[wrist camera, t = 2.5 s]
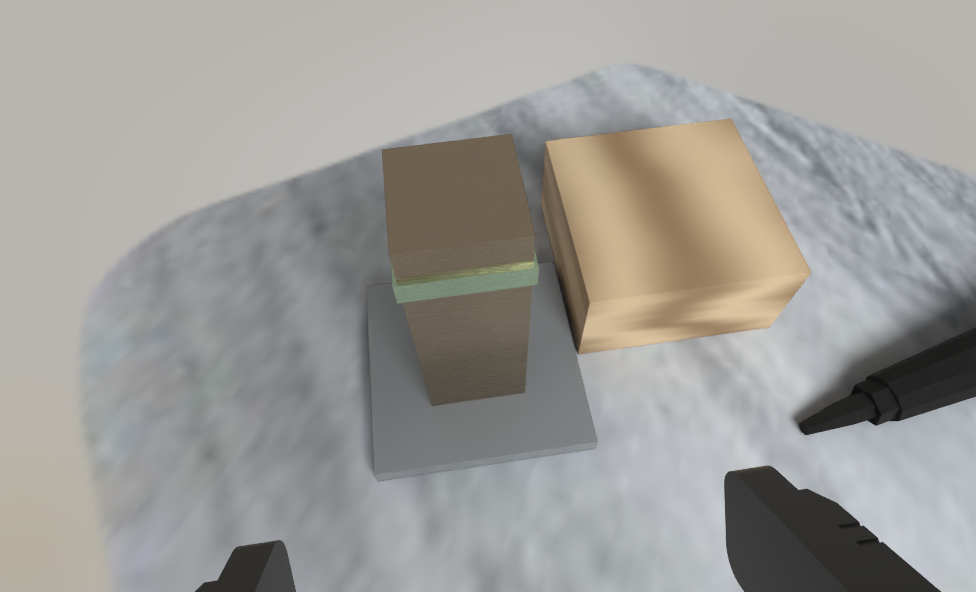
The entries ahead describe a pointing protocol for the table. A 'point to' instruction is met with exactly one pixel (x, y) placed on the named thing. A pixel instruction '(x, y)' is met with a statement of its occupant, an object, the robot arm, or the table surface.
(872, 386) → the microphone
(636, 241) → the rest block
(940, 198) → the table surface
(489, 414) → the coaster
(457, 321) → the column
